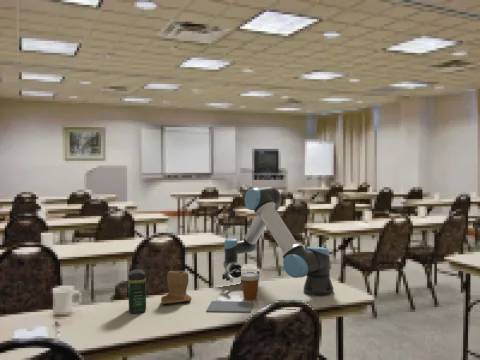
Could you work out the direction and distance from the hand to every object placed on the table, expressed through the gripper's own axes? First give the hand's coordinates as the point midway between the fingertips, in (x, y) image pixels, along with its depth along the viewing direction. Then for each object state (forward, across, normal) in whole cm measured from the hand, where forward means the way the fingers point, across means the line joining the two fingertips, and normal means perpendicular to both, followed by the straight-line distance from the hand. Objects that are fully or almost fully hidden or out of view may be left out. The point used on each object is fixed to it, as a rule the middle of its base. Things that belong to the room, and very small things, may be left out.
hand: (244, 279), depth 223 cm
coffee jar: (+11, +54, -8) cm, 56 cm away
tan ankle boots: (+3, +36, -8) cm, 37 cm away
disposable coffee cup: (+10, 0, -7) cm, 12 cm away
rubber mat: (+20, +12, -7) cm, 25 cm away
